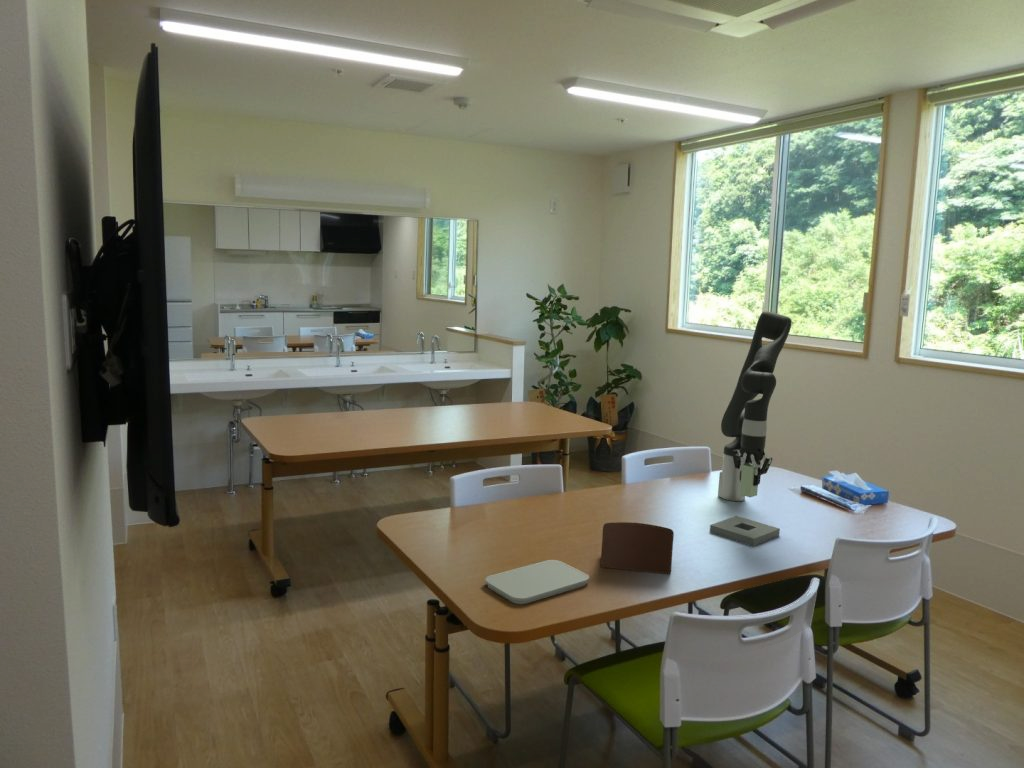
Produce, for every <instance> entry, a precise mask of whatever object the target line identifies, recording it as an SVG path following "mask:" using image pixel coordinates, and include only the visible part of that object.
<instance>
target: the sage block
mask: <svg viewBox="0 0 1024 768" xmlns="http://www.w3.org/2000/svg"><path fill="white" fill-rule="evenodd" d="M754 475H755V474H754V467H753V466H752V464H751V463H749V464H745V465H742V473H741V484H740V495H744V496H745V497H748V498H753V497H756V496H758V490H759V489H758V488H759V485H758V486H753V481H754Z"/></svg>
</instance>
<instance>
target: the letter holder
mask: <svg viewBox="0 0 1024 768" xmlns="http://www.w3.org/2000/svg"><path fill="white" fill-rule="evenodd" d="M674 533H675V532H674V531H673V529H672V528H669V527H664V526H660V525H654V524H648V523H642V522H641V523H640V522H632V521H631V522H629V521H625V522H620V521H619V522H606V523H604V524H603V527H602V538H601V539H602V541H601V553H600V555H601V556H600V568H605V569H614V570H624V571H631V572H641V573H651V574H660V575H668V576H670V575H671V574H672V573H671V572H672V565H673V564H672V563H673V549H674V548H673V547H674V536H675V535H674Z"/></svg>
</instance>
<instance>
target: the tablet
mask: <svg viewBox="0 0 1024 768" xmlns="http://www.w3.org/2000/svg"><path fill="white" fill-rule="evenodd" d="M484 581H485V584H486V585H487V587H488V589H490V590H492V591H493V592H495V593H496V594H498V595H499V596H501V597H503V598H505V599H507V600H508V601H510V602H511V603H512V604H516V605H525V604H530V603H533V602H536V601H539V600H542V599H545V598H549V597H552V596H556V595H559V594H562V593H565V592H569V591H572V590H575V589H579V588H581V587H585V586H586V585H587V582H589V581H590V575H589V574H587V573H585V571H582V570H579V569H577V568H575V567H573V566H571V565H569V564H567V563H565V562H563V561H561V560H558V559H557V560H556V559H547V560H543V561H542V560H541V561H540V562H537V563H531V564H527V565H524V566H521V567H517V568H513V569H509V570H506V571H502V572H499V573H494V574H491V575H488V576H486V577H485V579H484Z"/></svg>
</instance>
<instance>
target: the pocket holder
mask: <svg viewBox="0 0 1024 768" xmlns="http://www.w3.org/2000/svg"><path fill="white" fill-rule="evenodd" d="M780 530H781V529H780V528H779V527H775V526H773V525H770V524H769V525H768V524H765V523H763V522H759V521H756V520H752V519H749V518H746V517H742V516H738V515H734V516H732V517H728V518H726V519H723V520H720V521H718V522H714V523H711V524H710V525H709V533H712V534H715V535H718V536H720V535H721V536H720V537H723V536H724V537H723V538H726V537H727V539H729V538H730V539H729V540H733V541H736V540H737V541H736V542H739V541H740V542H739V543H742V542H743V543H742V544H745V543H746V544H745V545H748V544H749V546H751V545H752V546H751V547H755V546H757V544H758V545H760V544H762V542H763V543H765V542H767V540H768V541H770V540H772V538H773V539H775V538H777V536H778V537H780V533H781V532H780ZM764 541H765V542H764ZM759 543H760V544H759ZM754 545H755V546H754Z"/></svg>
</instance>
